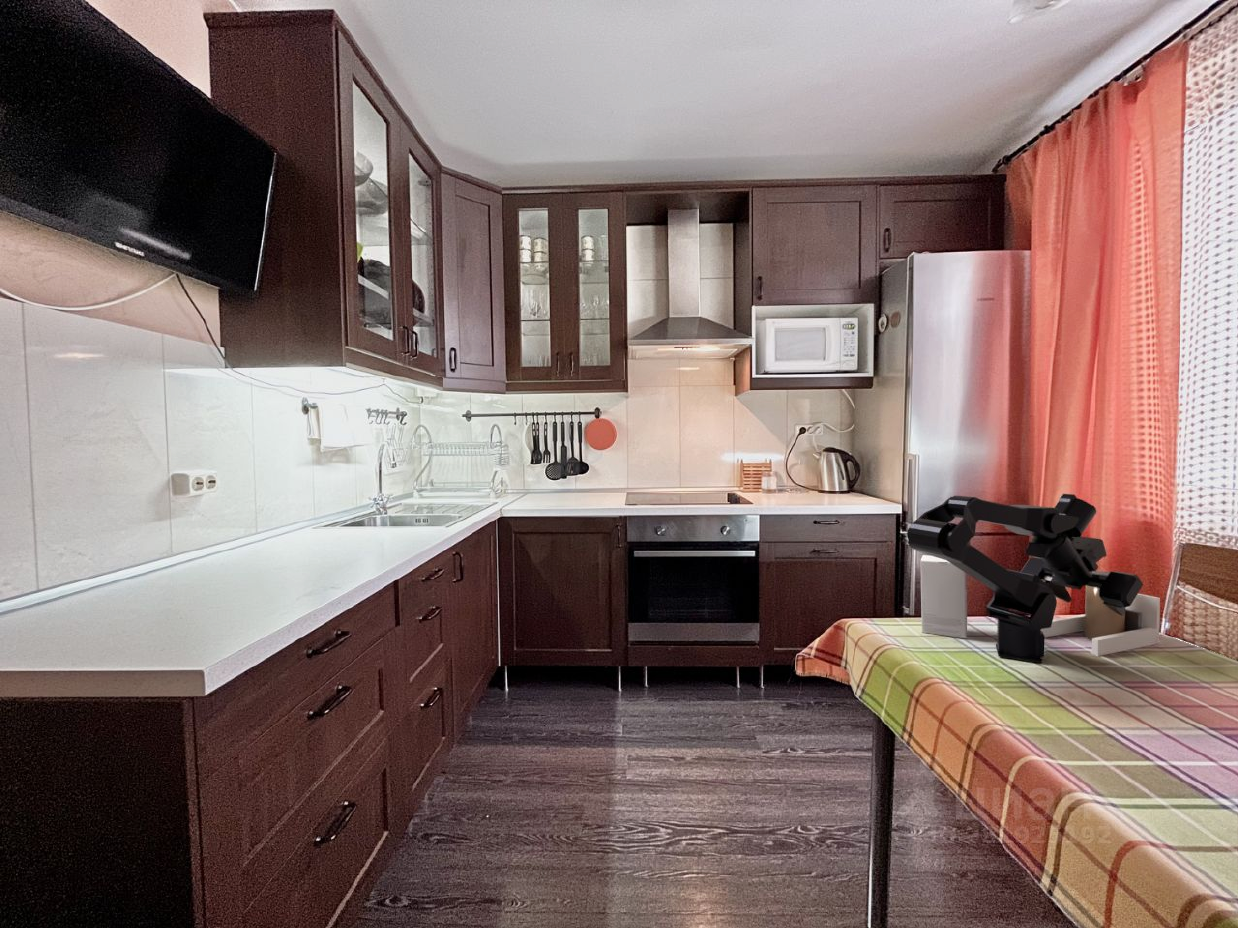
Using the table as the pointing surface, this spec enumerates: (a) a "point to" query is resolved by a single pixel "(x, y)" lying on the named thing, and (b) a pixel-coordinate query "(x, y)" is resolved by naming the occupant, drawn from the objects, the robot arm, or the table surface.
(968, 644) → the table surface
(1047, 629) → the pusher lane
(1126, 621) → the pusher paddle
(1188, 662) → the table surface
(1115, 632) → the jar
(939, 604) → the skincare box
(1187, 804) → the table surface
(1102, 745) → the table surface
